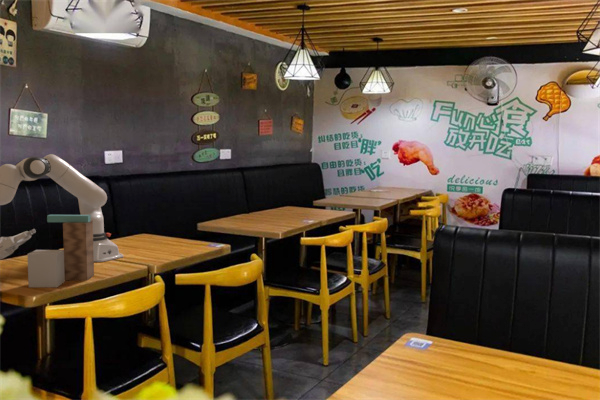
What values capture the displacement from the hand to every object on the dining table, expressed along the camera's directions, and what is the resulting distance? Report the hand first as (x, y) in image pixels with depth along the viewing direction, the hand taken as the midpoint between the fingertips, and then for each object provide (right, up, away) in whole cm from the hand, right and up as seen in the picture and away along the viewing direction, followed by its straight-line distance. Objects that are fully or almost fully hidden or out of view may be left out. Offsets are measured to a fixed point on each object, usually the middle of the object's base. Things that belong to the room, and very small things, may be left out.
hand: (30, 232), depth 253 cm
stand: (+21, -21, +4) cm, 30 cm away
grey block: (+12, -22, -9) cm, 27 cm away
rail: (+17, +5, +1) cm, 18 cm away
